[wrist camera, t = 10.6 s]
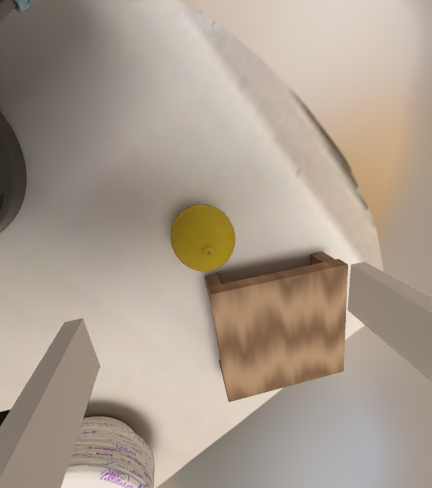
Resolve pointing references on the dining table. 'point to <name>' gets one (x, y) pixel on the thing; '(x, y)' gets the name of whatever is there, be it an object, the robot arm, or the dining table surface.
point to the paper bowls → (109, 457)
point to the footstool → (280, 326)
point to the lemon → (202, 237)
